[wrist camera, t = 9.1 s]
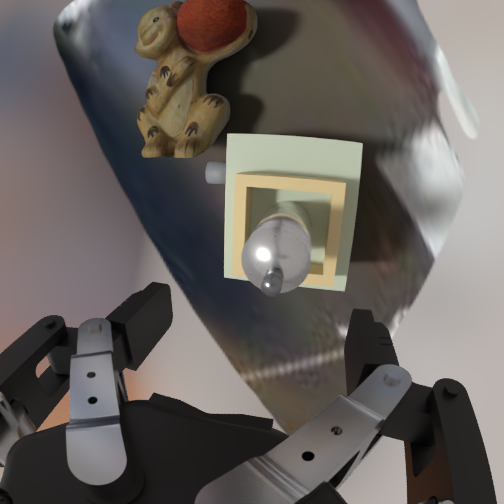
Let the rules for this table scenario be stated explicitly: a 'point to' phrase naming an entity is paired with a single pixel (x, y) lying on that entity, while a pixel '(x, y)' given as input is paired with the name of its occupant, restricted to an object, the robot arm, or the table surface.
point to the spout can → (279, 249)
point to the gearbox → (291, 196)
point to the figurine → (188, 72)
